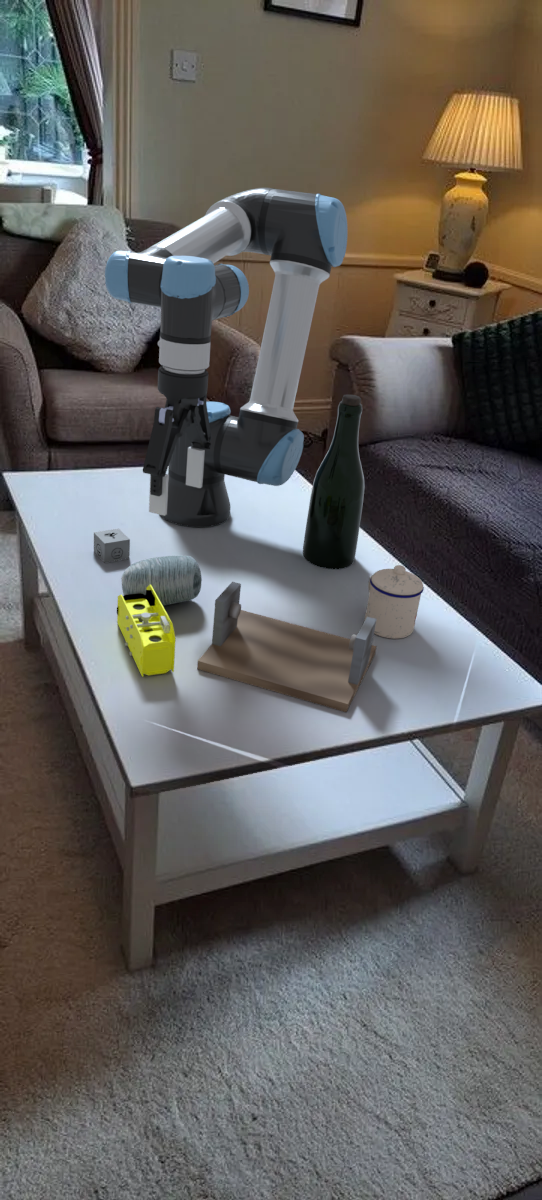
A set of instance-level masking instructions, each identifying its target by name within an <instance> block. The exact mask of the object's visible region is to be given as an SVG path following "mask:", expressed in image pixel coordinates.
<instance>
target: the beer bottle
mask: <svg viewBox="0 0 542 1200" xmlns="http://www.w3.org/2000/svg"><path fill="white" fill-rule="evenodd" d="M361 400H362V398H361V397H360V396H359V395H355V394H343V396H342V400H341V401H340V402H339V404H338V406H337V418H336V424H335V428H334V433H333V437H332V440H331V443H330V446H329V448H328V451H327V453H326V454H325V455H324V458H323V460H322V461H321V463H320V466H319V467H318V469H317V470H316V473H315V477H314V479H313V483H312V487H311V492H310V493H311V494H310V499H309V504H308V510H307V516H306V517H307V518H306V523H305V524H306V525H305V532H304V538H303V544H302V545H303V546H302V557H303V558H304V560H306V562H308V564H311V565H313V566H315V567H317V568H318V567H319V568H321V569H328V570H342V569H347V568H349V567H351V566H352V565H353V564H354V562H355V558H356V555H357V554H356V552H357V547H358V540H359V533H360V532H359V531H360V528H361V519H362V512H363V507H364V506H363V503H364V494H365V477H364V472H363V471H364V470H363V468H362V461H361V459H360V452H359V451H360V450H359V434H360V433H359V431H360V424H361V416H362V413H363V404H361V402H362V401H361Z"/></svg>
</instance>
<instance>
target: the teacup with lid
mask: <svg viewBox="0 0 542 1200" xmlns="http://www.w3.org/2000/svg"><path fill="white" fill-rule="evenodd" d="M367 585H368V586H367V587H368V588H367V589H368V598H367V599H368V600H367V604H366V611H365V616H364V621H365V620H366V618H367V617H370V618H374V619H377V620H376V625H375V631H374V635H376V636H379V637H381V638H385V639H392V640H393V639H395V640H396V639H404V638H407V637H409V636H411V634H413V632H414V630H415V625H416V621H417V620H416V619H417V615H418V611H419V606H420V601H421V596H422V593H424V592H423V591H424V590H425V589H424V588H425V587H424V583H423V581H422V580H421V578H420V577H418V576H417V575H416V574H414V573H412V572H410V571H407V569H406V567H405V566H404V565H401V564H400V565H399V564H398V565H395V566H394V567H393V568H383V569H379V570H377V571H375V572H374V573H373V574H371V576H370V577H369V579H368V584H367Z"/></svg>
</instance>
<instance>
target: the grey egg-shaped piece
mask: <svg viewBox="0 0 542 1200" xmlns="http://www.w3.org/2000/svg"><path fill="white" fill-rule="evenodd" d="M202 578H203V577H202V573H201V568H200V565H199V563H198V561H197V560H196V559H195V558H194V557H192V556H191V555H167V556H157V557H152V558H148V559H143V560H140V561H137V562H134V563H132V564H131V565H129V566H128V567H126V569H125V570H124V572H123V574H122V575H121V578H120V579H121V589H122V596H124V595H126V594H136V593H142V594H144V595H146V588H147V587H148V586H149V585H151V586H152V587H153V589H154V591H155V593H156V595H157V596H158V598H159V600H160V602H161V603H162V605H163V607H164V606H168V605H169V606H170V605H174V604H178V603H179V604H180V603H183V602H186V601H188V602H190V601H192V600H195V599H196V598H197V597H198V596H199V594H200V592H201V589H202V581H203V579H202ZM151 592H152V591H151Z"/></svg>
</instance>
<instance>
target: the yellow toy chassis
mask: <svg viewBox="0 0 542 1200" xmlns="http://www.w3.org/2000/svg"><path fill="white" fill-rule="evenodd" d="M151 591H152V592H151ZM116 615H117V616H116V617H117V621H116V623H117V625H118V627H119V629H120V631H121V633H122V636H123V638H124V640H125V644H124V645H125V647H128V649H129V656H132V658H133V660H134V662H135V666H136V667H137V668H138V671H139V673H140V675H141V677H144V675H147V676H153V675H154V676H155V675H161V674H167V673H168V672H169V671H171V672H172V673H174V672H175V658H176V657H175V655H176V654H175V653H176V633H175V628H174V623H173V622H172V620H171V618H170V616H169V614H168V612H167V611H166V609H165V607H164V606H163V605H162V603H161V602H160V600H159V598H158V596H157V595H156V593H155V591H154V589H153V587H152V586H151V585H149V586H148V587H147V588H146V595H144V594H142V593H136V594H126V595H123V594H119V595H117V607H116Z"/></svg>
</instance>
